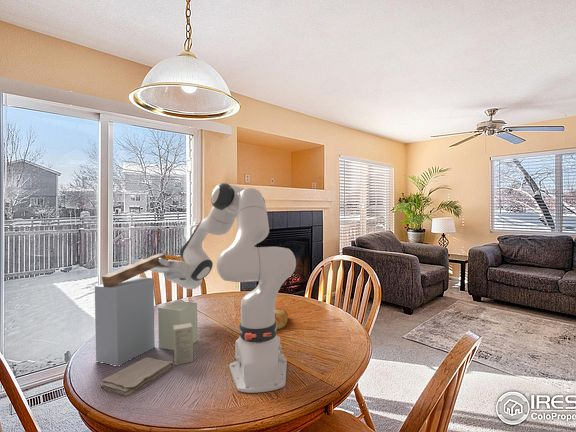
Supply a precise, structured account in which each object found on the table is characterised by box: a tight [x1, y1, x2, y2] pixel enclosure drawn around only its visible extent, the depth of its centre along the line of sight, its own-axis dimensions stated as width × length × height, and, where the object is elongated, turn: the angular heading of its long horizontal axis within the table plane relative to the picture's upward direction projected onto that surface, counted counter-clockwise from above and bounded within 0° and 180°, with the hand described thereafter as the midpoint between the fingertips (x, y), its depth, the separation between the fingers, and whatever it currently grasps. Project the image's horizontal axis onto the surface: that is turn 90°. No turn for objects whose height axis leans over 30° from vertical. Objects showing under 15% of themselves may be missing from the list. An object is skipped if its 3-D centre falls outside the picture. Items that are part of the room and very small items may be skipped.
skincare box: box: [173, 323, 194, 366], centre depth 105 cm, size 6×4×12 cm
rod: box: [101, 253, 167, 287], centre depth 115 cm, size 26×4×4 cm, turn 160°
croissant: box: [275, 308, 289, 331], centre depth 138 cm, size 21×10×8 cm, turn 159°
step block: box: [157, 300, 199, 351], centre depth 118 cm, size 10×10×15 cm
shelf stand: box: [94, 276, 156, 367], centre depth 110 cm, size 16×10×26 cm, turn 159°
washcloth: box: [100, 356, 175, 396], centre depth 95 cm, size 12×18×3 cm, turn 158°
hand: (153, 259), depth 123 cm, fingers closed on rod, 3 cm apart
